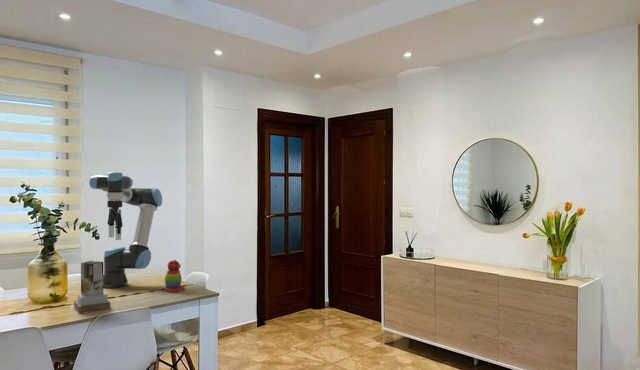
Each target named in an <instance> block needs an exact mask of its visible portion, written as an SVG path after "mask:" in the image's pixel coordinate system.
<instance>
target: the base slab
mask: <svg viewBox="0 0 640 370" xmlns="http://www.w3.org/2000/svg"><path fill="white" fill-rule="evenodd" d="M73 308H74V309H75V310H76V312H77V313H78V314H79V313H80V314H85V313H84V312H86V313H92V311H93V312H98V311H106V310H109V309H111V302H110V301H109V300H108V299H107V303H101V304H93V305H85V306H80V303H79V301H78V299H77V300H73Z"/></svg>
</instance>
